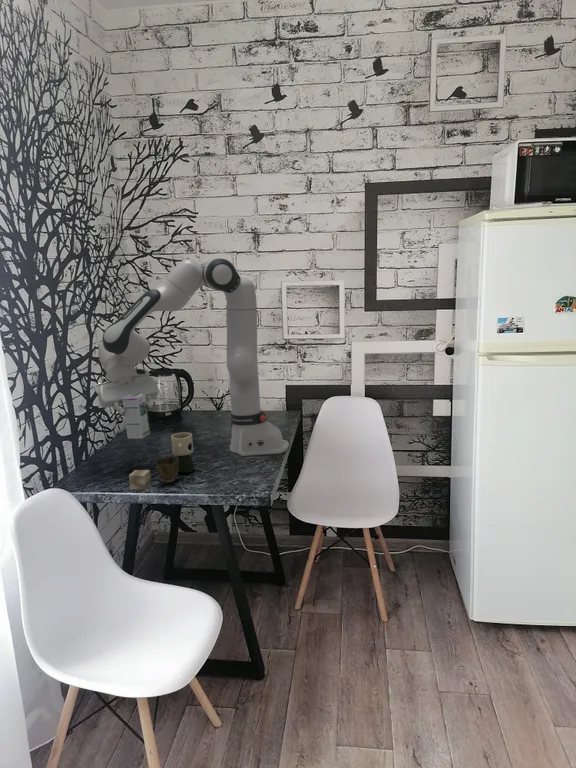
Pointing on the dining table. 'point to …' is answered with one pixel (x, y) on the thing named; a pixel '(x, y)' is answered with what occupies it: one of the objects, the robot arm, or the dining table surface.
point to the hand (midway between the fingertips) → (136, 411)
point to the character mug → (183, 450)
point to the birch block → (140, 479)
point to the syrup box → (136, 416)
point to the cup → (167, 468)
